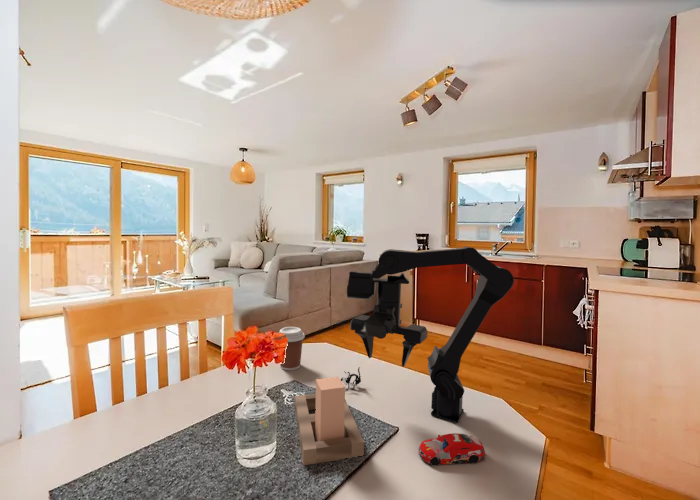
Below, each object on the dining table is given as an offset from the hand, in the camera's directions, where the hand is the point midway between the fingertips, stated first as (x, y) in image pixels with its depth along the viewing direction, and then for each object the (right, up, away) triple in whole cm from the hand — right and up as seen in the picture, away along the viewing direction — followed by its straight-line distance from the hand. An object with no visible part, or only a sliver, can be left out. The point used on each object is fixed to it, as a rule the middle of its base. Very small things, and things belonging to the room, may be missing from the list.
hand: (386, 361), depth 84 cm
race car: (+11, -14, -16) cm, 24 cm away
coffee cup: (-29, -10, +25) cm, 39 cm away
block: (-14, -13, -13) cm, 23 cm away
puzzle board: (-15, -12, -8) cm, 21 cm away
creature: (-10, -11, +12) cm, 19 cm away
